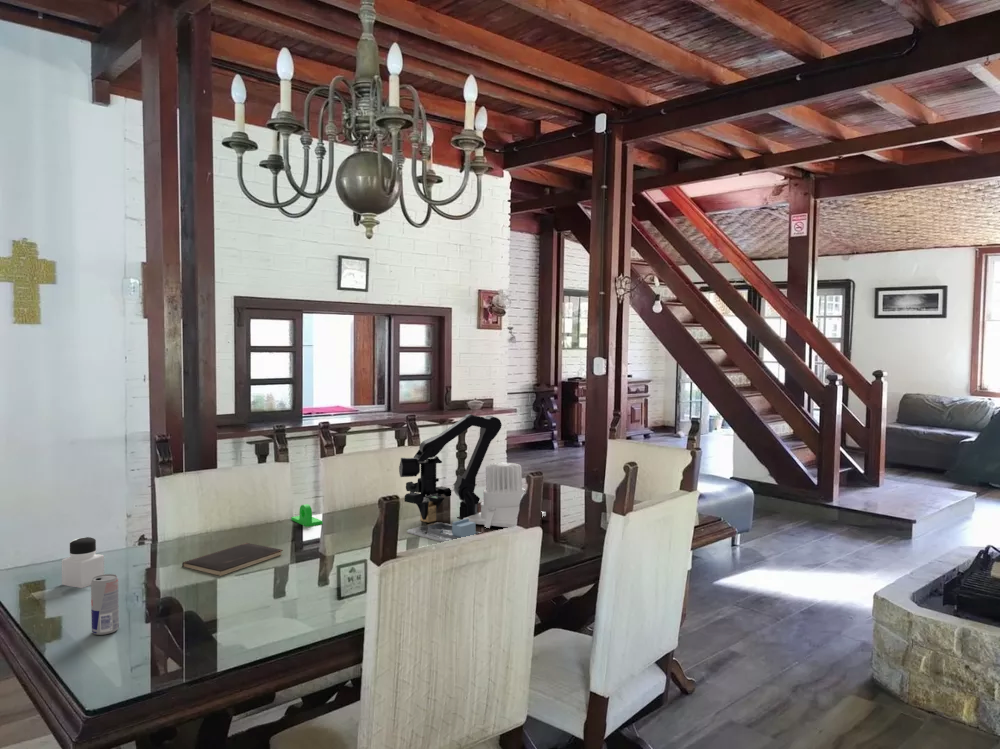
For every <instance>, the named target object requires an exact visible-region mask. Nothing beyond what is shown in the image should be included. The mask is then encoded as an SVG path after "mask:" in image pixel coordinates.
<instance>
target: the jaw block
mask: <svg viewBox="0 0 1000 749" xmlns="http://www.w3.org/2000/svg"><path fill="white" fill-rule="evenodd" d="M428 502H429V504H428V510H427V515H426V519H425V520H423V519H422V516H421V513H420V520H419V521H421V522H424V523H429V524H430V523H434V522H436V521H437V512H436V505H433V502H430V501H428Z"/></svg>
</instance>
